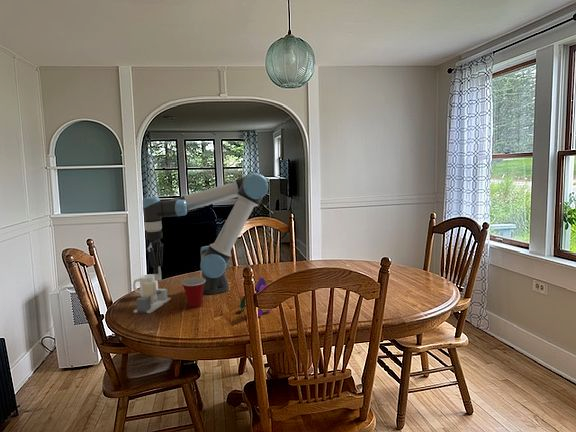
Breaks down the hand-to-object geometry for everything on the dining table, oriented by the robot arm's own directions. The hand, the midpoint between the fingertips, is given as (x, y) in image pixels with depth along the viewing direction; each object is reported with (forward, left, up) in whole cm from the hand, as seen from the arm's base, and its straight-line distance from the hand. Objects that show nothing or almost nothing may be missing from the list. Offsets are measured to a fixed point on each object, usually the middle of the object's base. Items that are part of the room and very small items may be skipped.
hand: (158, 280), depth 204 cm
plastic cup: (-19, +4, -11) cm, 23 cm away
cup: (+12, -9, -11) cm, 18 cm away
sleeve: (+1, +7, -8) cm, 11 cm away
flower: (-48, +11, -11) cm, 51 cm away
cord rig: (+1, +5, -11) cm, 12 cm away
